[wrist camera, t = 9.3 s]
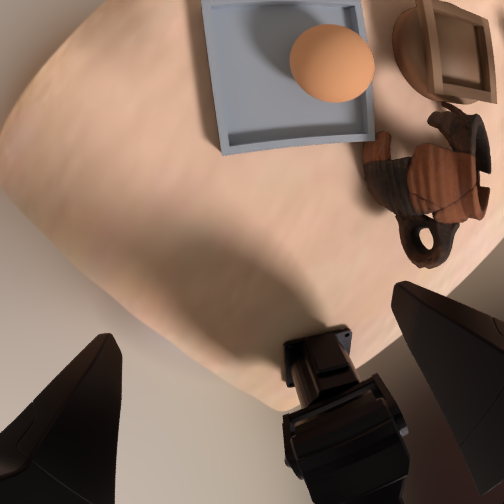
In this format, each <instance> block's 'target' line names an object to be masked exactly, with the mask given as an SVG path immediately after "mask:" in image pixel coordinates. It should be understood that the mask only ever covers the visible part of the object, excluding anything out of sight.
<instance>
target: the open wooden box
mask: <svg viewBox="0 0 504 504" xmlns="http://www.w3.org/2000/svg"><path fill="white" fill-rule="evenodd" d="M415 2H416V7H415V8H412V9H409V10H407V11H405V12H404V13H402V14H401V15H400V16H399V18H398V19H397V21H396V23H395V26H394V29H393V39H392V41H393V50H394V55H395V58H396V61H397V64H398V66H399V68H400V70H401V72H402V74H403V76H404V77H405V79H406V80H407V81H408V83H409V84H410V85H411V86H412V87H413V88H414V89H415V90H416V91H417V92H418V93H420V94H421V95H422V96H424V97H426V98H428V99H431V100H435V101H444V102H450V103H457V104H472V103H475V102H476V101H478V100H479V101H484V102H489V103H494V104H497V92H496V76H495V65H494V56H493V48H492V41H491V34H490V28H489V23H488V20H487V19H485V18H483V17H480V16H478V15H476V14H473V13H471V12H468V11H466V10H463V9H461V8H459V7H457V6H455V5H453V4H451V3H448V2H443V1H438V0H415Z"/></svg>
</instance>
